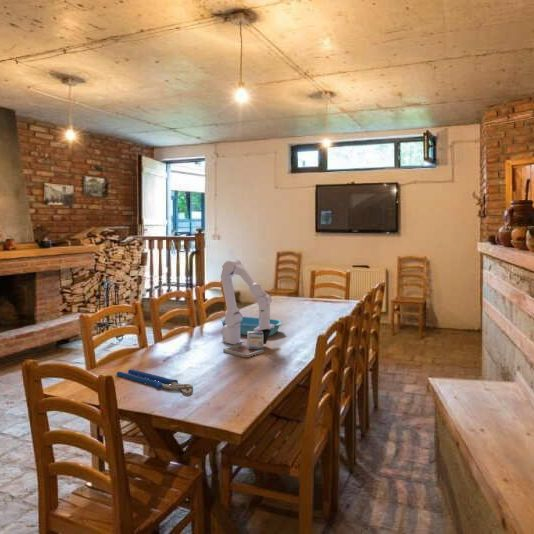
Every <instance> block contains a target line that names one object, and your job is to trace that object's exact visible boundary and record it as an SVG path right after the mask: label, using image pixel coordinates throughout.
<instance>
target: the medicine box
mask: <svg viewBox="0 0 534 534" xmlns="http://www.w3.org/2000/svg"><path fill="white" fill-rule="evenodd" d="M246 348H247V350H249V349H255V350H262V349H263V350H264V344H263V332H262V331H259V332H254V331H247V335H246Z"/></svg>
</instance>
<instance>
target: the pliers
mask: <svg viewBox="0 0 534 534" xmlns="http://www.w3.org/2000/svg"><path fill="white" fill-rule="evenodd" d="M127 372H128V373H126V372H123V371H117V372H116V376H117V375H118V377H120V376H121V378H123V377H125V378H124V379H127V378H128V379H127V380H130V379H132V380H131V381H133V380H135V382H137V381H139V382H138V383H140V382H142V383H141V384H144V383H146V384H145V385H147V384H149V385H148V386H150V385H152V386H151V387H154V386H155V388H156V389H158V388H162V389H168V390H180V391H182V392H181V393H182V394H183V395H184V394H185V395H184V396H186V395H187V396H191V395H192V394H193V393H194V385H192V384H190V383H183V384H182V383H179V381H178V379H172V378H167V377H164V376H160V375H156V374H152V373H148V372H144V371H140V370H138V369H137V370H136V369H128V371H127ZM129 373H131V374H129ZM133 374H135V375H133ZM136 375H139V376H136ZM140 376H142V377H140ZM143 377H146V378H143ZM147 378H149V379H147ZM150 379H152V380H150ZM154 380H156V381H154ZM158 381H159V382H158ZM161 382H163V383H161ZM164 383H166V384H164ZM169 384H171V385H169ZM158 390H159V389H158ZM190 394H191V395H190Z"/></svg>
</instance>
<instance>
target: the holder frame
mask: <svg viewBox="0 0 534 534" xmlns="http://www.w3.org/2000/svg"><path fill="white" fill-rule="evenodd" d="M239 347H241V348H242V343H238V344H234V345H232V346H229V347H225V348H223V349H222V350H223V353H225V352H226V353H225V354H229V353H230V355H233V354H234V355H233V356H237V355H238V356H237V357H241V356H242V357H241V358H244V357H249V358H251V357H250V356H252V357H254V356H253V355H255V356H257V355H256V354H258V355H260V354H259V353H261V354H263V353H264V352H265V351H264V350H265V349H264V348H263V349H257V350H255V351H254V352H253V351H252V352H250V353H244V352H239V351H235V350H237V349H240V348H239ZM236 348H237V349H236ZM233 349H234V350H233ZM262 352H263V353H262Z"/></svg>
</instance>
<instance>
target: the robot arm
mask: <svg viewBox="0 0 534 534" xmlns="http://www.w3.org/2000/svg"><path fill="white" fill-rule="evenodd" d="M221 268H222V270H221V273H220V279H221V280H220V281H221V285H222V290H223V295H224V296H223V297H224V301H225V305H226V306H225V307H226V311H225V313H224V318H225V323H226V325H225V326H224V327H223V326H222V340H221V342H223V343H226V344H231V345H238V344H242V343H244V342H245V340H241V334H240V323H241V322H242V319H243V317H244V316H243V315H242V313H241V311H240V308H238V306H237V305H238V304H237V301H236V296H235V290H234V285H233V280H232V279H233V277H234V275H237V276H240V278H242V280H243V282H245V283H246V284H247V286H248V287H249V288H248V290H249V291H250V293H251V295H252V296H253V297H254V298H255V299H256V303H257V306H258V318H259V326H258V327H256V328H254V332H259V331H262V332H263V345H266V344H267V342H268V337H270V336H269V334H270V332H271V330H268V329H271V328H274V324H270V319H271V315H270V314H271V303H272V301H273V300H272V296H271V295H270V294H268V293H267V291H264V289H263V288H262V285H261V284H259V282H255V280H253V278H252V277H251V275H250V274H249V272H248V271H247V270H246V268H245V266H244V264H243V263H242V262H241V261H240V260H239V259H233V260H226V261H225V262H224V263H223V265H221ZM242 316H243V317H242ZM237 343H238V344H237Z"/></svg>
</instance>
